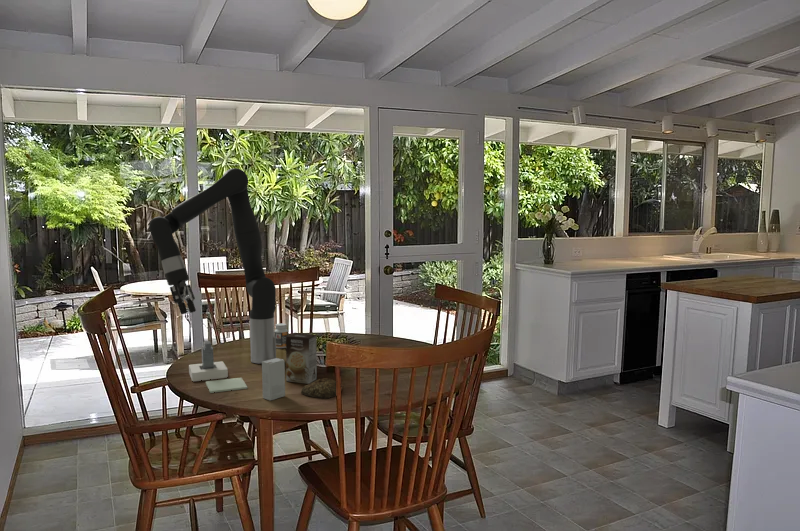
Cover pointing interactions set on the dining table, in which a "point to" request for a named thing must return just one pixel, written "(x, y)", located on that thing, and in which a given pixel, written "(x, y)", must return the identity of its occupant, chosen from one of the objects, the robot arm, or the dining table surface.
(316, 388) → the brown rock
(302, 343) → the coffee box
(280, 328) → the pill bottle
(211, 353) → the t-key
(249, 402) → the dining table surface
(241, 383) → the sage mat
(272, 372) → the skincare box
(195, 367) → the key socket
